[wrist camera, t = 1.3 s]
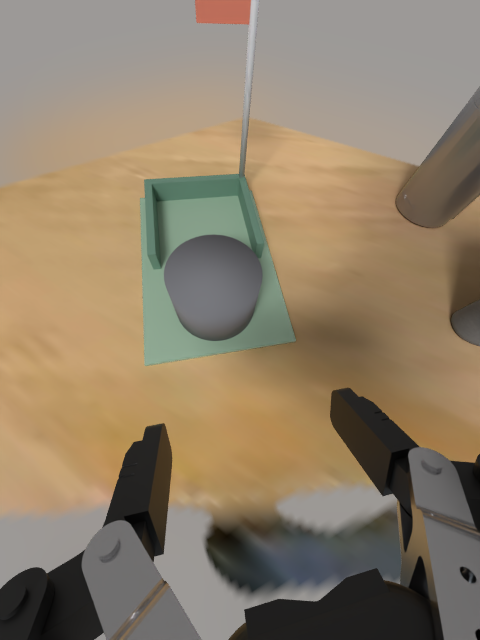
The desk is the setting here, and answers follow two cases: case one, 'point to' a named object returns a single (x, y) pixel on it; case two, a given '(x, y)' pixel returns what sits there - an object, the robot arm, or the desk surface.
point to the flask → (468, 323)
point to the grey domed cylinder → (213, 285)
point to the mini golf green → (207, 232)
